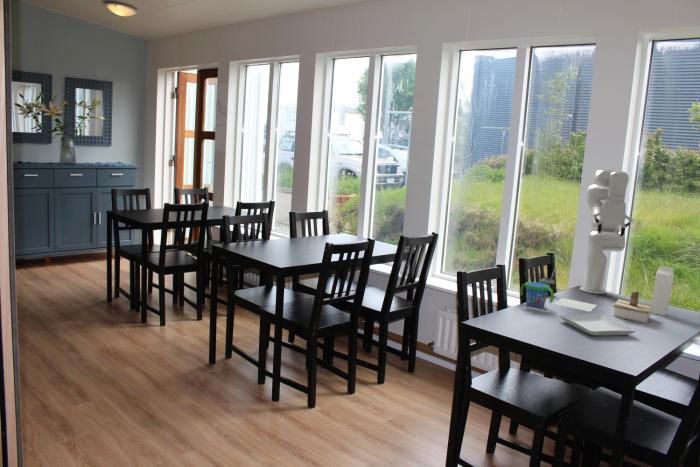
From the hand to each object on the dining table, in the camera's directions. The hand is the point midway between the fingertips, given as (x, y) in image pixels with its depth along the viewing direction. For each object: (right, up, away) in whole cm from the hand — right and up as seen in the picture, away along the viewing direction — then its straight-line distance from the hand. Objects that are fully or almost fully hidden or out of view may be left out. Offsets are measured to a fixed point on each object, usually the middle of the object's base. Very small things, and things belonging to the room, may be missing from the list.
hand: (610, 234), depth 278 cm
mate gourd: (-26, -30, +13) cm, 42 cm away
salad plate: (-24, -39, -40) cm, 61 cm away
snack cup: (-39, -33, -12) cm, 53 cm away
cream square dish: (+2, -37, -18) cm, 41 cm away
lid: (+2, -32, -18) cm, 37 cm away
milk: (+19, -37, -6) cm, 42 cm away
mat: (-19, -33, -5) cm, 38 cm away
